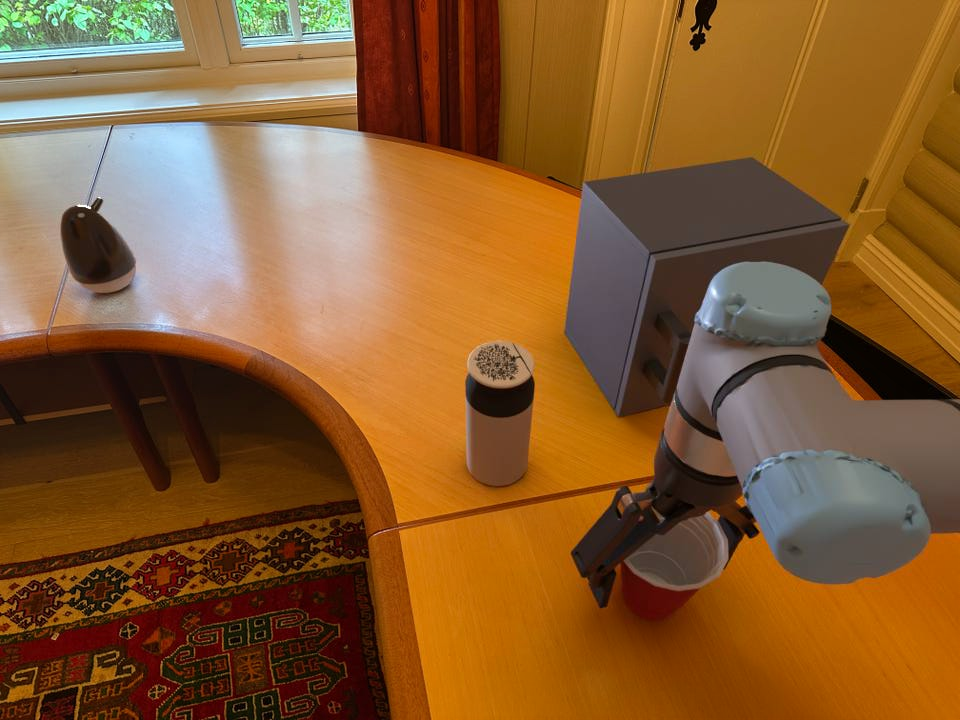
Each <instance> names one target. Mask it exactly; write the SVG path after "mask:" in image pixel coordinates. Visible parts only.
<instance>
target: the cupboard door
mask: <svg viewBox="0 0 960 720" xmlns="http://www.w3.org/2000/svg"><path fill="white" fill-rule="evenodd" d="M850 226H851V224H850V223H848V222H847V221H846V220H844V219H841V220H840V221H835V222H829V223H824V224H818V225H813V226H807V227H802V228H796V229H791V230H785V231H780V232H774V233H769V234H763V235H758V236H752V237H746V238H741V239H735V240H730V241H724V242H719V243H713V244H708V245H702V246H697V247H691V248H686V249H680V250H675V251H669V252H663V253H658V254H652V255H651V256H650V261H649V265H648V269H647V274H646V278H645V283H644V287H643V291H642V296H641V300H640V304H639V309H638V313H637V317H636V322H635V326H634V331H633V335H632V339H631V344H630V348H629V352H628V357H627V361H626V365H625V370H624V374H623V379H622V383H621V387H620V392H619V396H618V400H617V405H616V409H615V410H614V412H615V413H616V415H617V417H618V418H621V417H625V416H628V415H633V414H637V413H642V412H644V411H650V410H653V409H658V408H661V407H662V408H663V407H666V406H669V405H671V402H672V399H673V396H674V393H675V390H676V387H677V384H678V380H679V377H680V373H681V370H682V366H683V363H684V359H685V356H686V352H687V349H688V345H689V342H690V338H691V335H692V331H693V328H694V324H695V321H694V320H695V315H696V313H697V312H698V311H699V310H700V309H701V306H702V303H703V300H704V298H705V295H706V292H707V290H708V287H709V284H710V282H711V280H712V279H713V278H714V276H715V275H716V274H718V273H719V272H720V271H721V270H723V269H724V268H726V267H728V266H731V265H733V264H737V263H741V262H772V263H777V264H782V265H785V266H789V267H792V268H794V269H797V270H799V271H801V272H803V273H805V274H807V275H809V276H810V277H812V278H813V279H815V280H816V281H817V282H818V283H820V284H821V285H822V286H823V283H824V281H825V280H826V277H827V275H828V273H829V270H830V268H831V266H832V265H833V262H834V260H835V258H836V256H837V254H838V251H839V250H840V247H841V245H842V243H843V241H844V239H845V236H846V235H847V232H848V230H849V228H850Z"/></svg>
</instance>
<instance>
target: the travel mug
mask: <svg viewBox="0 0 960 720" xmlns="http://www.w3.org/2000/svg"><path fill="white" fill-rule="evenodd" d="M466 366H467V371H468V373H467V375H466V377H465V381H464V385H465V386H464V387H465V389H464V391H465V435H466V436H465V440H466V441H465V442H466V443H465V445H466V446H465V447H466V449H465V450H466V467H467V469H468V471H469V473H470V474H471V476H472V477H473V478H475V480H477V481H479V482H480V483H481V484H484V485H487V486H492V487H503V486H508V485H511V484H514V483H516V482H518V480H519V479H521V478H522V477H523V476H524V474H525V473H526V471H527V469H528V465H529V464H528V461H529V452H530V444H531V443H530V442H531V431H532V419H533V411H534V410H533V409H534V399H535V389H536V388H535V387H536V382H535V379H534V376H533V374H534V371H535V360H534V357H533V355H532V354H531V352H530V351H529V350H528V349H527V348H525V347H523V346H522V345H520V344H518V343H515V342H512V341H507V340H494V341H493V340H492V341H488V342H485V343H482V344H480V345H478V346H477V347H475V348H473V350H472V351H471V352H470V354H469V356H468V357H467V361H466Z"/></svg>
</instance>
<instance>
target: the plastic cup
mask: <svg viewBox="0 0 960 720" xmlns="http://www.w3.org/2000/svg"><path fill="white" fill-rule="evenodd" d="M652 509H653V511H654V512H655V514H656V516H657V517H658V519H659V521H660V522H662V521H663V520H664V519H665V518H664V517H663V516H661V515H660V514H659V513H658V512H657V511H656V510H655V509H654V508H653V507H652ZM727 561H728V540H727V538H726V535H725V533H724V531H723V529H722V527H721V525H720V523H719V522H718V519H716V518H715V517H714V516H713V514H711V513H710V511H708V512H706V513H705V515H702V516H699V517H692V518H689V519H688V520H684V521H681V522H680V523H678V524H677V525H676V526H675V527H673V528H672V529H671V530H670V531H668V532H667V533H666V534H665V535H658V534H656V535H655V536H653V537H652V538H651V539H650V540H648V541H647V542H646V543H645V544H643V545H642V546H641V547H640V548H639V549H637V550H636V551H635V552H634V553H632V554H631V555H630V556H629V557H627V558H626V559H625V560H624V561H623V562H621V563H620V564H619V565H620V580H621V594H622V596H623V600H624V603H625V605H626V606H627V608H628V609H629V610H630V612H631V613H632V614H634V615H636V616H637V617H638V618H640V619H642V620H646V621H650V622H659V621H663V620H666V619H667V618H669V617H670V616H672V615H673V614H675V613H676V612H677V611H678V610H679V609H680V608H681V607H683V606H684V605H685V604H686V603H687V602H688V601H689V600H690V599H691V598H692V597H693V596H694V595H695V594H697V592H698V591H699V590H700V589H702V588H703V587H705V586H707V585H708V584H710V583H712V582H713V581H715V580H717V579H718V578H719V577H720V576H721V574H722V572H723V571H724V570H723V568H724V567H725V565H726V563H727Z"/></svg>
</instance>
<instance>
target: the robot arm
mask: <svg viewBox="0 0 960 720" xmlns="http://www.w3.org/2000/svg"><path fill="white" fill-rule="evenodd" d="M831 313H832V304H831V297H830V295H829V293H828V291H827V290H826V289H825V287H824V286H823V284H822V285H821V284H820V283H818V282H817V281H816V280H815V279H813V278H812V277H810V276H809V275H807V274H805V273H803V272H801V271H799V270H797V269H794V268H792V267H789V266H785V265H782V264H777V263H772V262H741V263H737V264H733V265H731V266H728V267H726V268H724V269H723V270H721V271H720V272H719V273H718V274H716V275H715V276H714V278H713V279H712V280H711V282H710V284H709V287H708V290H707V292H706V295H705V298H704V300H703V303H702V306H701V309H700V310H699V311H698V312H697V313H696V315H695V320H694V321H695V324H694V328H693V331H692V335H691V338H690V342H689V345H688V349H687V352H686V356H685V359H684V363H683V366H682V370H681V373H680V377H679V380H678V384H677V387H676V390H675V393H674V396H673V399H672V402H671V404H670V406H669V409H668V412H667V415H666V420H665V422H664V427H663V429H662V431H661V433H660V437H659V441H658V443H657V446H656V450H655V454H654V457H653V470H654V472H653V473H654V475H653V476H654V477H653V479H652V481H651V482H650V483H649V484H647V486H646V488H645V490H644V491H638V492H634V493H632V491H631V489H630V487H629V486H627V485H623V486H620V487H619V488H618V489H617V490H616V491H615V493H614V496H613V499H612V500H611V503H610V504H609V506H607V508H606V510H605V511H604V512H603V513H602V514H601V516H599V518H598V519H597V520H596V521H595V523H594V524H593V525H592V526H591V527H590V528H589V529H588V531H587V532H586V533H585V534H584V535H583V536H582V538H581V539H580V540H579V541H578V543H577V544H575V546H574V547H573V549H572V550H571V551H570V556H571V558H572V560H573V562H574V564H575V567H576V569H577V571H578V573H579V575H580V577H581V578H582V579H587V581H588V583H587V585H588V586H589V589H590V591H591V593H592V595H593V597H594V599H595V601H596V604H597V606H598V608H599V609H600V610H601V609H604V608H607V607H608V604H609V601H610V597H611V594H612V591H613V588H614V584H615V581H616V578H617V576H618V575H617V573H618V572H617V571H616V569H615V568H616V567H618V566H619V565H620V563H621V562H623V561H624V560H625V559H626V558H627V557H629V556H630V555H631V554H632V553H634V552H635V551H636V550H637V549H639V548H640V547H641V546H642V545H643V544H645V543H646V542H647V541H648V540H650V539H651V538H652V537H653V536H655V535H656V534H658V535H665V534H666V533H667V532H668V531H670V530H671V529H672V528H673V527H675V526H676V525H677V524H678V523H680V522H681V521H684V520H688V519H689V518H692V517H699V516H702V515H705V513H706V512H710V511H712V512H714V513H717V514H718V515H719V517H718V519H717V521H718V522H719V523H720V525H721V527H722V529H723V531H724V533H725V535H726V538H727V540H728V561H727V563H726V565H725V567H724V568H723V570H722V571H724V570H726V569H727V566H728V564H729V562H731V559H732V557H733V556H734V553H735V551H736V550H737V548H738V546H739V545H740V543H741V542H742V541H743V539H744V537H745V535H746V537H747V538H748V539H754V538H756V537H758V536H759V535H760V533H762V535H763V537H764V539H765V541H766V543H767V545H768V547H769V549H770V552H771V553H772V555H773V557H774V559H775V560H776V561H777V563H778V564H779V565H780V566H781V567H782V568H783V569H784V570H785V571H787V572H788V574H791V575H792V576H794V577H796V578H799V579H801V580H804V581H805V582H810V583H813V584H822V585H830V586H831V585H832V586H833V585H835V586H836V585H837V586H838V585H850V584H853V583H855V582H857V581H859V580H861V579H867V578H869V579H877V578H880V577H883V576H886V575H889V574H891V573H893V572H895V571H898V570H899V569H901V568H903V567H905V566H907V565H908V564H910V563H911V562H912V561H914V560H915V559H916V558H917V557H918V556H920V554H921V553H923V551H925V548H926V547H927V545H928V543H929V541H930V537H931V535H935V534H937V535H939V534H943V535H944V534H960V399H959V398H957V399H954V398H953V399H944V398H943V399H941V398H940V399H872V400H870V399H867V400H865V399H864V400H859V399H858V400H857V399H854V398H852V397H851V396H850V394H848V393H849V392H848V391H846V390H845V388H844V387H843V386H842V384H841V383H840V381H839V379H838V378H837V376H836V375H835V374H834V372H833V370H832V369H831V367H830V366H829V364H828V363H827V362H826V360H825V359H824V357H823V355H822V354H821V352H820V350H819V344H820V341H822V339H824V337H825V336H826V332H827V326H828V323H829V319H830V317H831ZM742 496H743V500H744V503H745V505H743V506H741V504H739V503H738V502H737V501H738V500H739V499H740V498H741V497H742ZM652 507H653V508H654V509H655V510H656V511H657V512H658V513H659V514H660V515H661V516H663V517H664V518H665V519H664V520H663V521H662V522H660V521H659V519H658V517H657V516H656V514H655V512H654V511H653V509H652ZM755 523H756V524H757V526H758V527H759V529H758V527H757V526H756V524H755ZM760 531H761V532H760Z"/></svg>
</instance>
